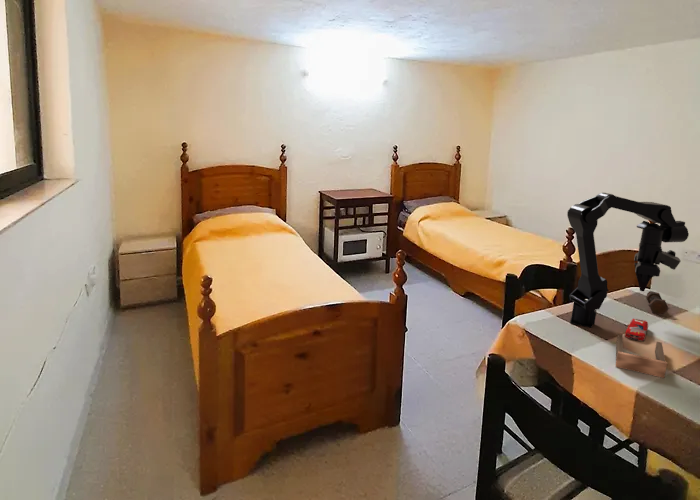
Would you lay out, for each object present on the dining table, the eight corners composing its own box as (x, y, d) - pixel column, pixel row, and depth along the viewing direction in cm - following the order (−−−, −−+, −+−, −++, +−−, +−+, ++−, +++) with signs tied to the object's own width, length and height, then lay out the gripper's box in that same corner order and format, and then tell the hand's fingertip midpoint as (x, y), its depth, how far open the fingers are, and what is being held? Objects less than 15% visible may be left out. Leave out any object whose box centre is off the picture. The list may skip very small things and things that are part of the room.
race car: (643, 344, 137) (645, 332, 136) (622, 339, 141) (624, 327, 140) (649, 329, 147) (651, 318, 146) (630, 325, 151) (632, 313, 149)
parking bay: (615, 366, 124) (618, 353, 123) (616, 342, 137) (618, 330, 136) (664, 377, 118) (667, 363, 117) (659, 352, 132) (662, 339, 131)
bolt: (652, 304, 173) (659, 318, 159) (639, 296, 174) (646, 308, 161) (664, 293, 170) (672, 305, 157) (651, 284, 172) (658, 296, 158)
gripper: (684, 253, 135) (674, 302, 139) (678, 240, 151) (668, 285, 155) (640, 247, 141) (631, 295, 145) (638, 235, 156) (630, 279, 160)
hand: (641, 288), depth 151 cm, fingers open, 5 cm apart
